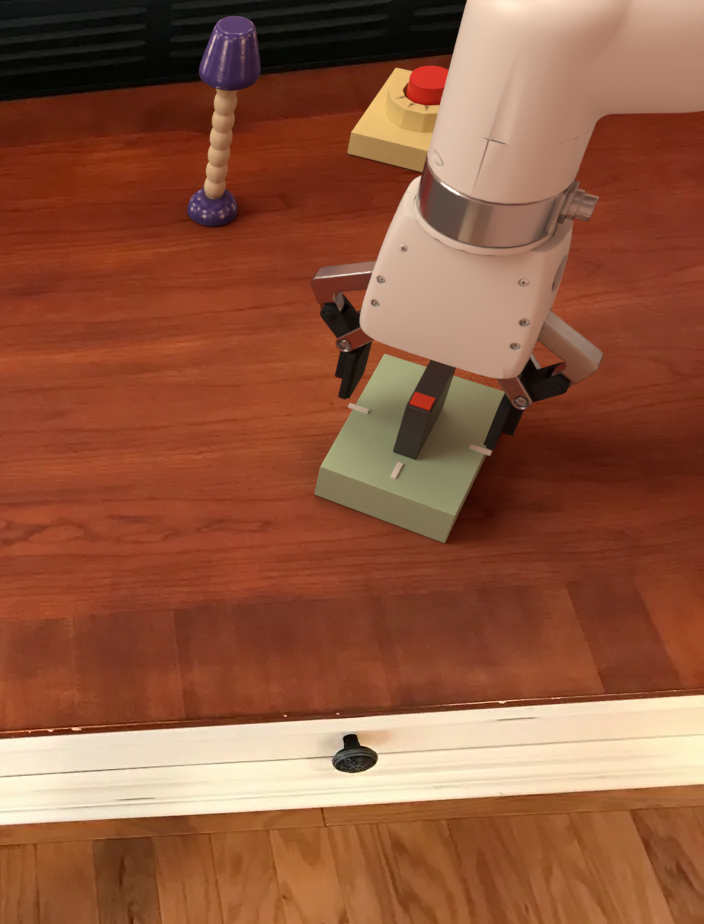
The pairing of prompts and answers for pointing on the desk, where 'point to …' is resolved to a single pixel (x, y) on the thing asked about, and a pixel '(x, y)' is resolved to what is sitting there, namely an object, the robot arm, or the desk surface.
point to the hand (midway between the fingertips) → (421, 409)
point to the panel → (402, 478)
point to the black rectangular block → (423, 409)
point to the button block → (395, 126)
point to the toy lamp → (224, 112)
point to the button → (427, 85)
